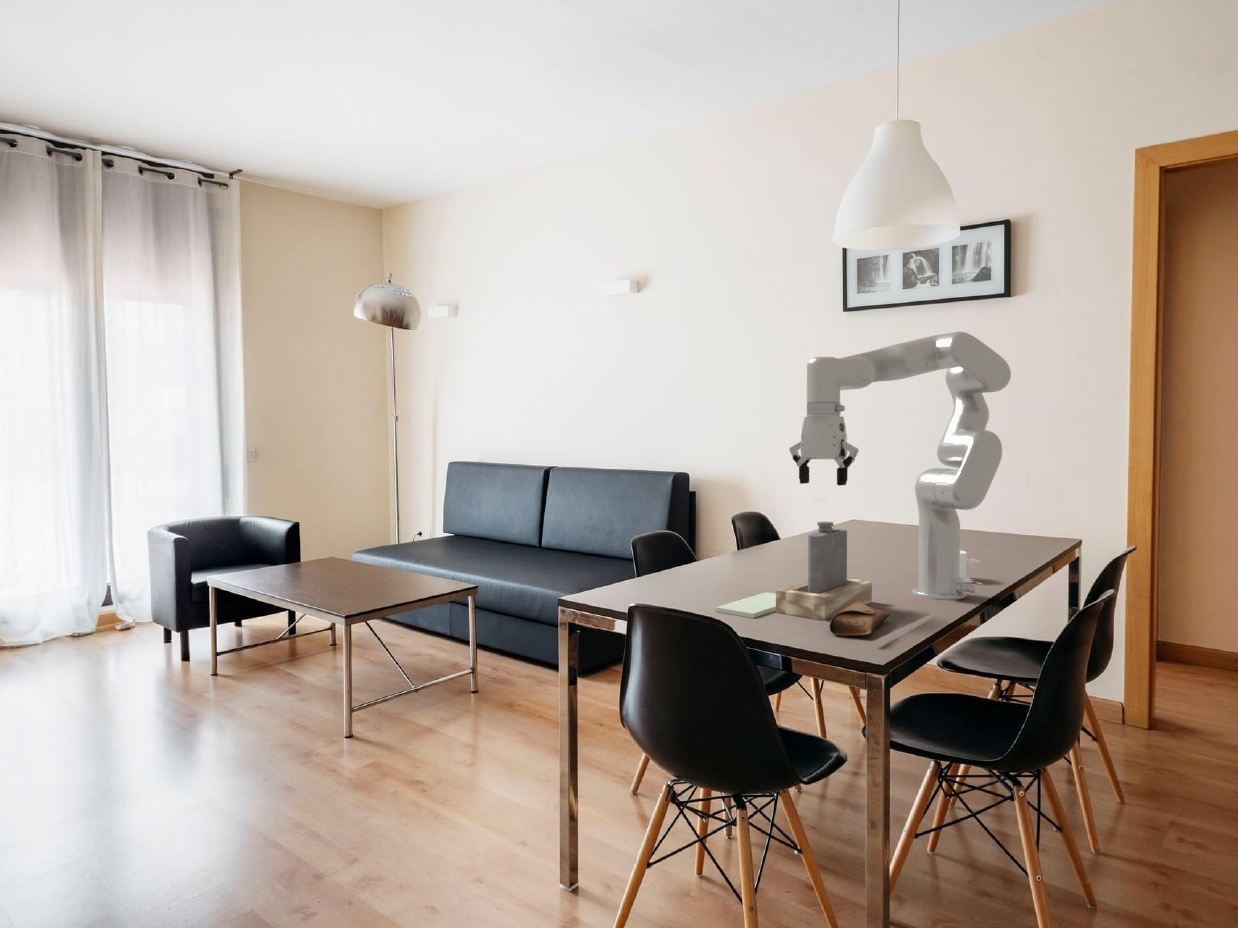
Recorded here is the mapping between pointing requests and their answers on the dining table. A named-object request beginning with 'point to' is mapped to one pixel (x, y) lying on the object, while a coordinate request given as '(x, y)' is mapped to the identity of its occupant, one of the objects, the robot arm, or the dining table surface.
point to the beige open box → (822, 599)
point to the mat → (750, 606)
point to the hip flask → (827, 558)
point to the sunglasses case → (857, 620)
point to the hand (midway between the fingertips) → (822, 484)
